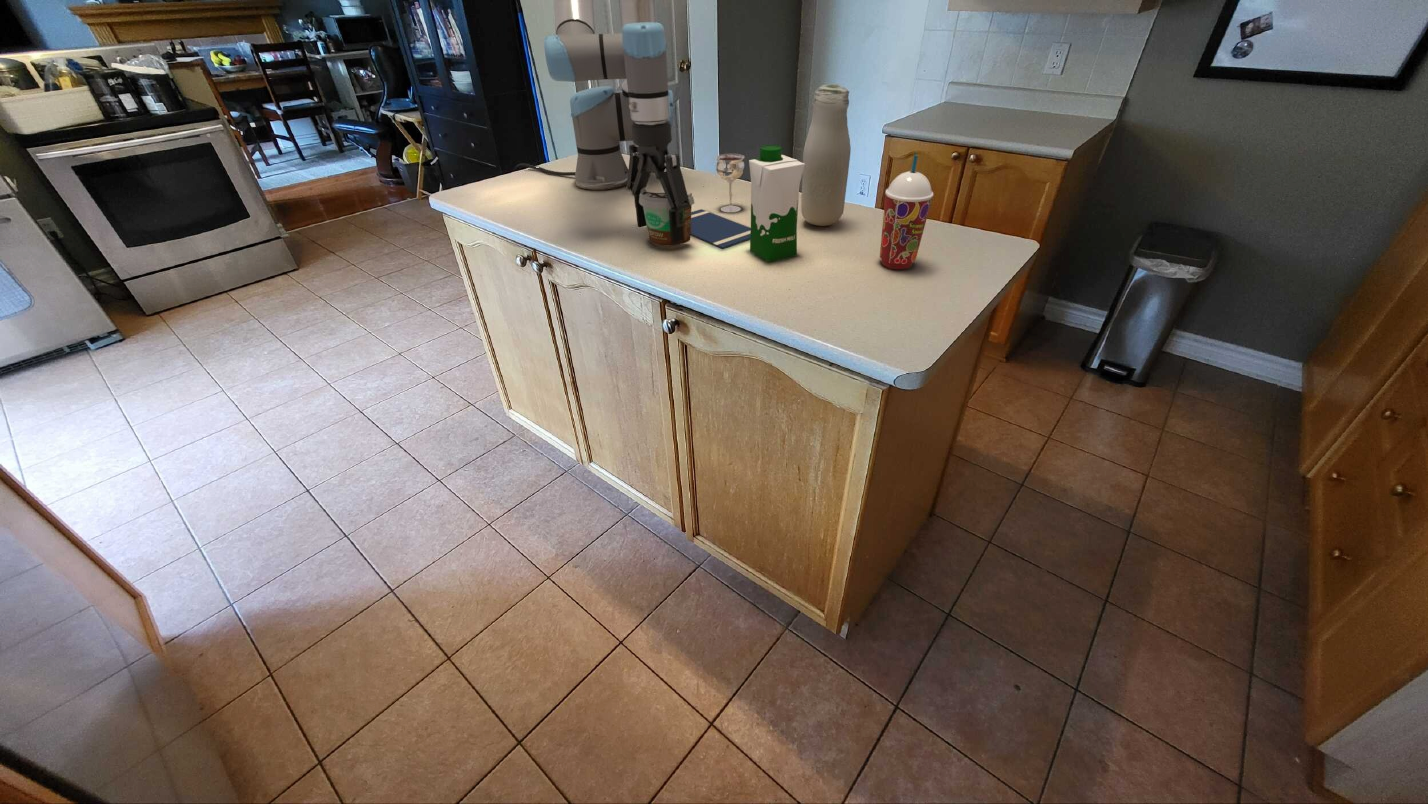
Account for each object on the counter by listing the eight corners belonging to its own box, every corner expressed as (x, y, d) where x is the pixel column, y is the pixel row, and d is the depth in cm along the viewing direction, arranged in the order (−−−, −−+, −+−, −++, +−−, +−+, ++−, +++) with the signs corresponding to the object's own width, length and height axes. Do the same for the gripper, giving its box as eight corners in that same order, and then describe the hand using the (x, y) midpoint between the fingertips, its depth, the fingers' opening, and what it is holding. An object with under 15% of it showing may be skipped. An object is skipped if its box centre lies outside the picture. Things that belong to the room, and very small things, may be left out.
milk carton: (779, 242, 121) (783, 142, 109) (803, 256, 115) (811, 151, 103) (743, 250, 118) (744, 148, 106) (766, 266, 112) (770, 158, 100)
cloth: (661, 222, 133) (661, 220, 133) (701, 210, 139) (701, 209, 139) (722, 249, 119) (722, 247, 119) (763, 234, 125) (764, 232, 125)
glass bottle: (841, 216, 133) (856, 80, 116) (843, 232, 125) (859, 89, 108) (799, 215, 134) (808, 81, 117) (797, 231, 126) (807, 89, 109)
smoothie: (911, 276, 106) (933, 164, 94) (868, 267, 110) (884, 158, 98) (923, 260, 112) (946, 152, 100) (882, 252, 116) (899, 147, 104)
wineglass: (724, 215, 136) (723, 162, 129) (712, 207, 141) (711, 156, 134) (749, 210, 138) (750, 158, 131) (737, 203, 143) (737, 152, 136)
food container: (631, 243, 121) (626, 195, 115) (647, 233, 125) (642, 186, 119) (682, 251, 116) (679, 202, 110) (696, 241, 121) (694, 193, 115)
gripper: (600, 115, 113) (615, 223, 126) (672, 133, 98) (679, 254, 111) (632, 110, 117) (643, 215, 130) (705, 127, 102) (709, 244, 115)
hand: (660, 233), depth 120 cm, fingers closed on food container, 12 cm apart
